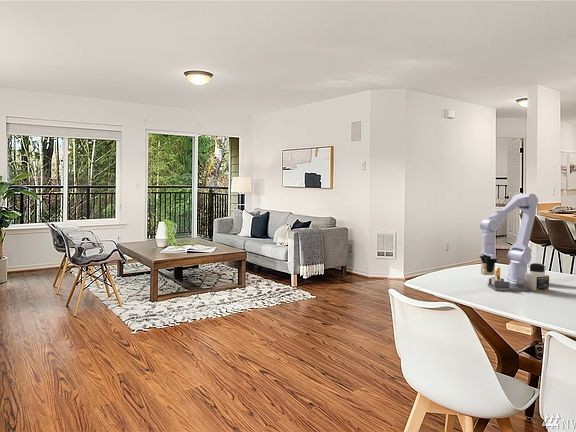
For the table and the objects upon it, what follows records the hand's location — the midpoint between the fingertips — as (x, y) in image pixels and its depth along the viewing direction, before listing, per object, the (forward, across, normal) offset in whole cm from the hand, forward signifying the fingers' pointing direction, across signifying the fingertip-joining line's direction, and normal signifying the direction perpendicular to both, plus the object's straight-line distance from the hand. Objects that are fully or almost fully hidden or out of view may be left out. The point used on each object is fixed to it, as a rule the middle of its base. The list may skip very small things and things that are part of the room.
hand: (487, 271), depth 220 cm
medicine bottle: (+6, +11, +18) cm, 22 cm away
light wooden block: (+2, 0, 0) cm, 2 cm away
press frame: (+6, +11, +5) cm, 14 cm away
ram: (+4, +11, 0) cm, 12 cm away
